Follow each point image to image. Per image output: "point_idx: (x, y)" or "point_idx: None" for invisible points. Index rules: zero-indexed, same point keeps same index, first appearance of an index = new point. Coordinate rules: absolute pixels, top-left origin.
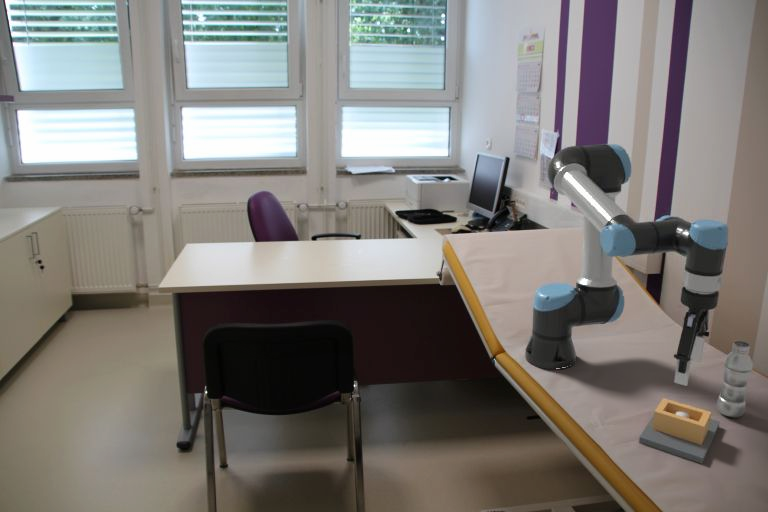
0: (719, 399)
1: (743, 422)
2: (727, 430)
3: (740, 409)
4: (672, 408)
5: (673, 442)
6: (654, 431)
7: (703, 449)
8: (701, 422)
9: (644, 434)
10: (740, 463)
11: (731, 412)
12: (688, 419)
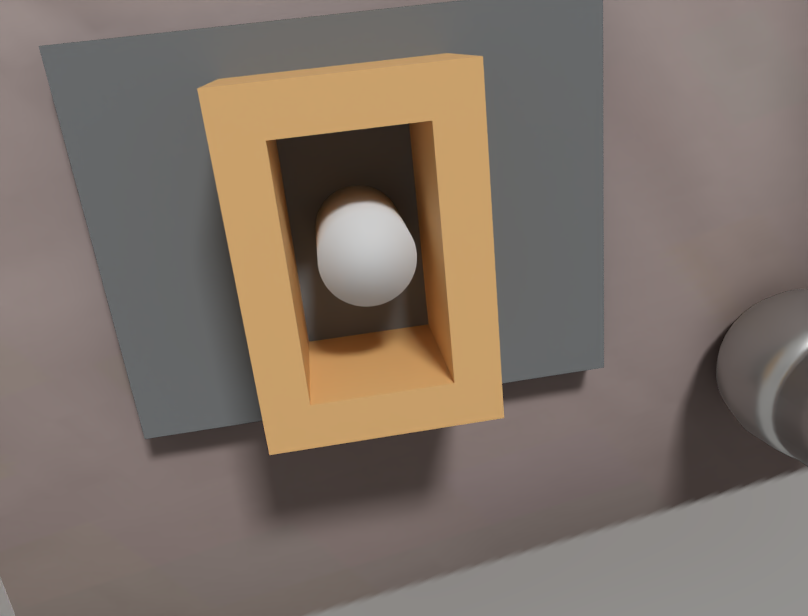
0: (800, 331)
1: (713, 424)
2: (581, 395)
3: (761, 439)
4: (427, 158)
5: (167, 255)
6: (198, 103)
7: (237, 408)
8: (312, 422)
9: (99, 62)
10: (310, 537)
11: (725, 395)
12: (284, 344)
